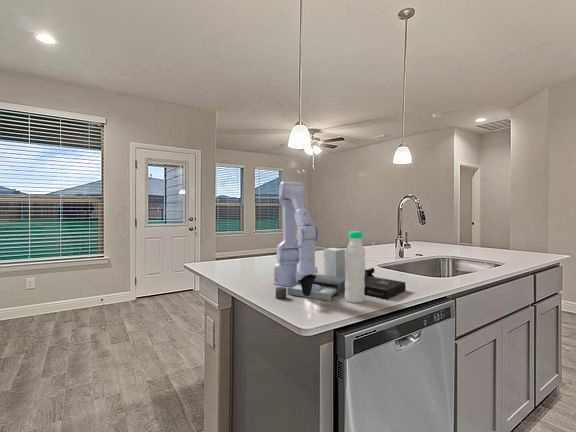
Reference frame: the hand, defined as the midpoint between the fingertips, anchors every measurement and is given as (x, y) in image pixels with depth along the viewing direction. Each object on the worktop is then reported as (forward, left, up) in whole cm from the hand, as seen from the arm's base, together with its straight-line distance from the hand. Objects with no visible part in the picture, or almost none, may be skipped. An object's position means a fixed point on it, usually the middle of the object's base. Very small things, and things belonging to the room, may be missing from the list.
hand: (306, 295), depth 116 cm
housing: (0, +16, -1) cm, 16 cm away
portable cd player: (+20, +24, -2) cm, 31 cm away
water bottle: (+16, +7, -2) cm, 17 cm away
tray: (0, +7, -1) cm, 7 cm away
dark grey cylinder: (-9, -3, -1) cm, 10 cm away
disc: (0, +6, 0) cm, 6 cm away
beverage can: (+9, +37, -2) cm, 38 cm away
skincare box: (0, +30, -2) cm, 30 cm away
